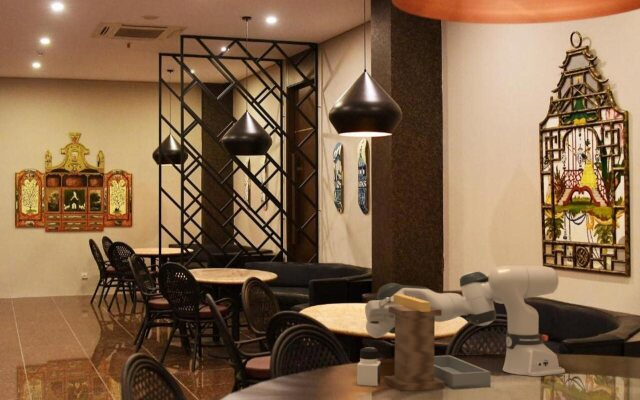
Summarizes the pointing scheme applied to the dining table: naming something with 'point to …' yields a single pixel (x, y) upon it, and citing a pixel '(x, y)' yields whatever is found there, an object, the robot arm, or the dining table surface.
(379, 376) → the medicine bottle
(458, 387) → the tray
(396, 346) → the stand
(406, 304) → the rod
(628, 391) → the dining table surface
